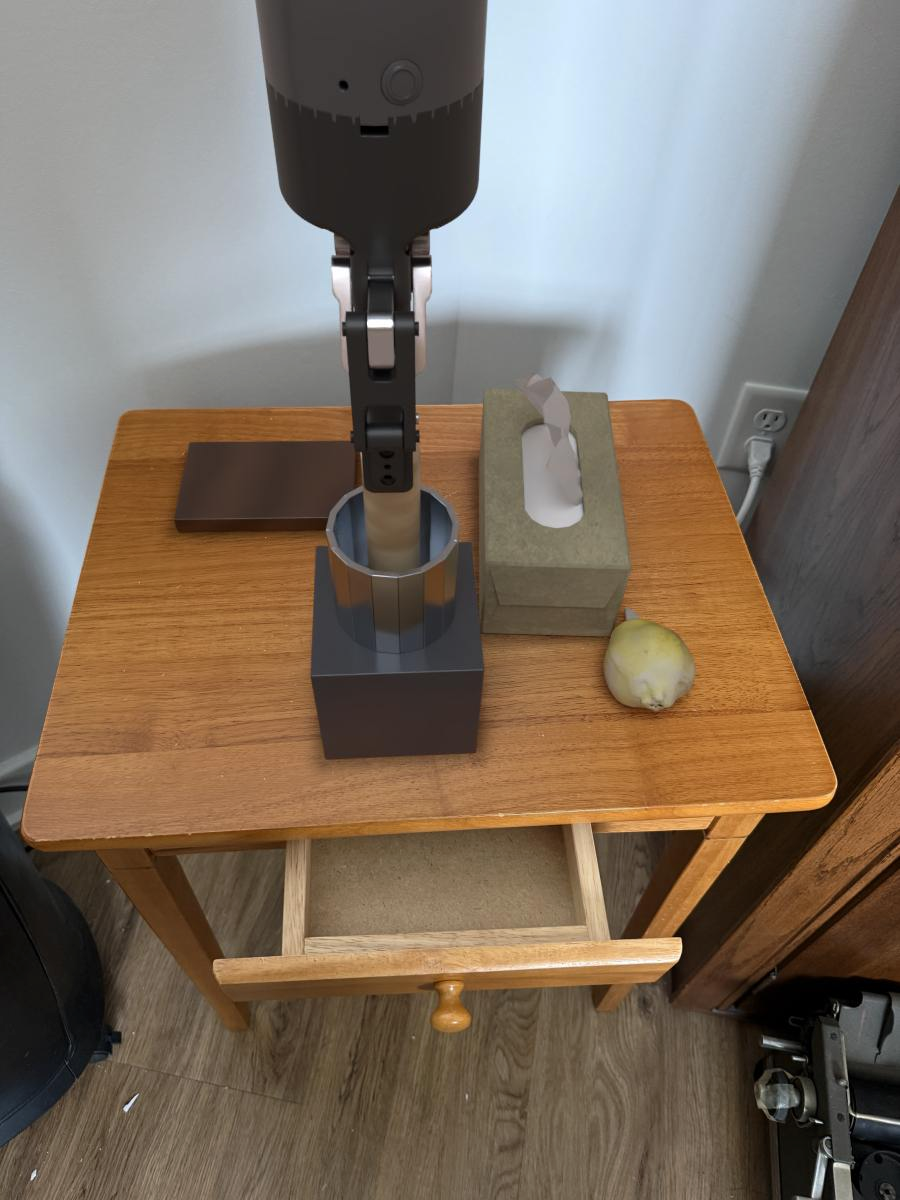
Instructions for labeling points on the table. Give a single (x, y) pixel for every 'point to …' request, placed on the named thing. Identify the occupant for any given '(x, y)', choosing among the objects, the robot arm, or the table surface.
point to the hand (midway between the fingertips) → (388, 425)
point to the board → (263, 485)
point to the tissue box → (549, 513)
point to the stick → (394, 525)
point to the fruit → (647, 664)
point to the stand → (397, 680)
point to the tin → (394, 578)
